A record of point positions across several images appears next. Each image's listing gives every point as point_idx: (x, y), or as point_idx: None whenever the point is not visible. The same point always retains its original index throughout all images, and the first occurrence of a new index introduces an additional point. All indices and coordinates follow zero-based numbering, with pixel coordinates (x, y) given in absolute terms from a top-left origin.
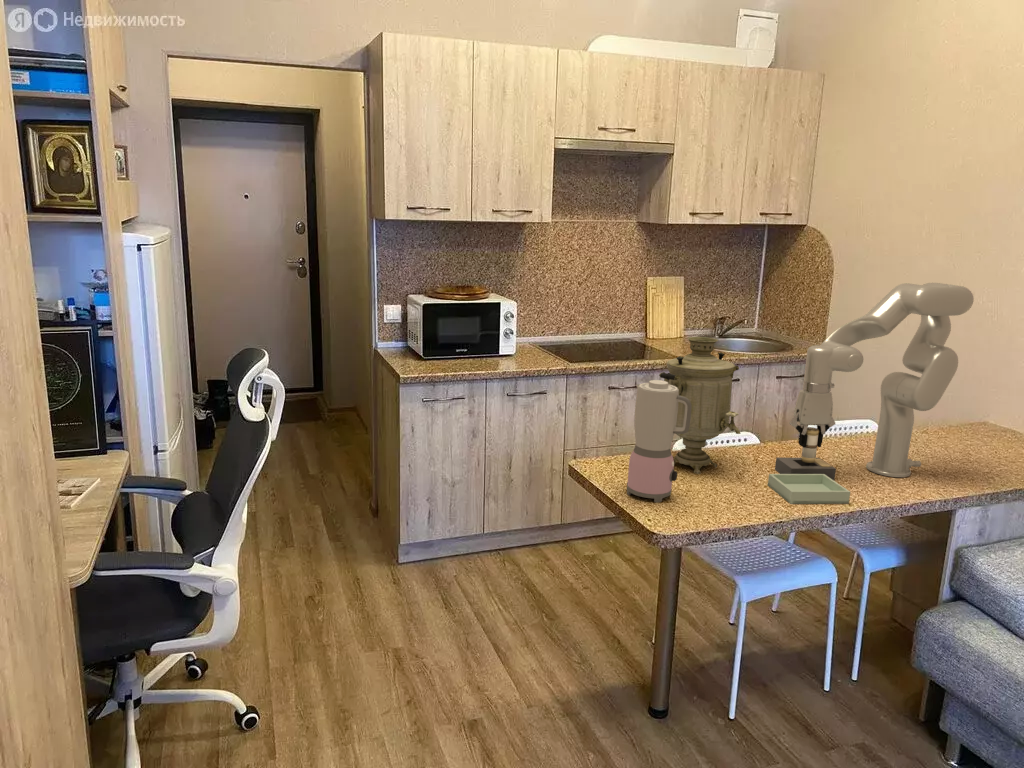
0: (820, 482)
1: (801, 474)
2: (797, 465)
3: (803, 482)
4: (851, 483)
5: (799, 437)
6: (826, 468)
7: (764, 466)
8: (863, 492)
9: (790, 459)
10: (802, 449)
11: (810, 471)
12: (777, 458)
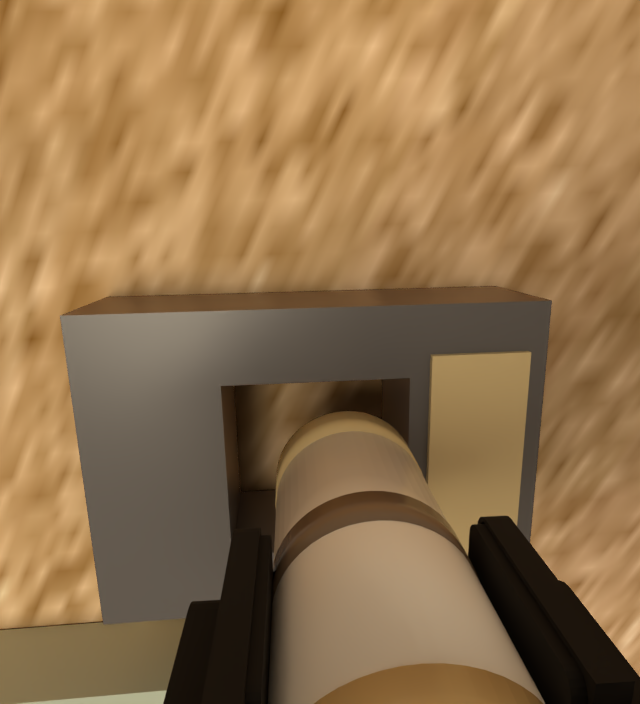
0: None
1: (158, 699)
2: (197, 545)
3: None
4: (577, 554)
5: (173, 691)
6: None
7: (37, 207)
8: None
9: (202, 374)
10: (277, 527)
11: None
12: (64, 343)
